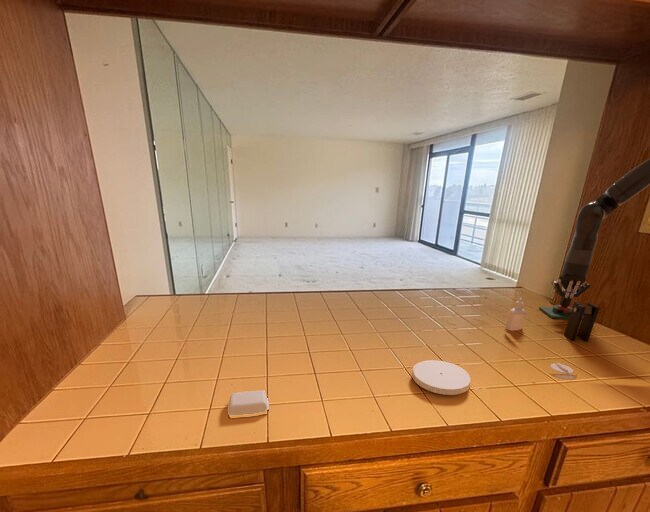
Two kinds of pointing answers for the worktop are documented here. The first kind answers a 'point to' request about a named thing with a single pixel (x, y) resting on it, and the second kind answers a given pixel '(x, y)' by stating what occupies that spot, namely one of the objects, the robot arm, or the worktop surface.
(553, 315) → the button box
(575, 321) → the bracket
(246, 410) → the soap
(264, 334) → the worktop surface
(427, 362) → the plastic lid
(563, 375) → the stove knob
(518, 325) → the eye dropper bottle
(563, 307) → the button
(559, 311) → the lever
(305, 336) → the worktop surface
